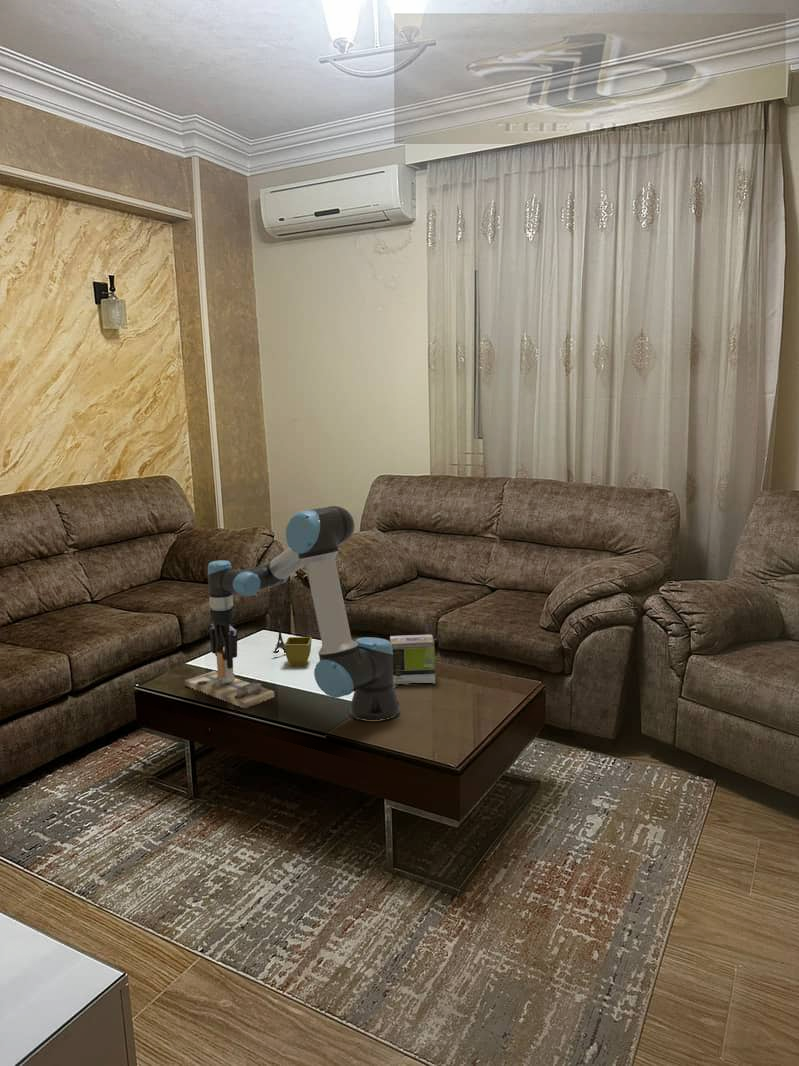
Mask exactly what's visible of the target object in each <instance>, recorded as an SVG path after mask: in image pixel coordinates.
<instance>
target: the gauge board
mask: <svg viewBox="0 0 799 1066" xmlns="http://www.w3.org/2000/svg"><path fill="white" fill-rule="evenodd" d="M217 675H218V671H216V670H213V671H210V672H206V673H203V674H199V675H197V676H194V677H191V678H188V679H185V680H184V685H185V687H187V686H188V688H189V687H190V689H192V688H193V689H192V690H195V691H197V690H198V692H200V691H201V692H200V693H202V692H203V694H205V693H206V695H208V694H209V695H208V696H210V695H211V697H213V698H216V699H218V698H219V700H221V699H222V700H221V701H223V700H224V702H226V701H227V703H229V702H230V703H229V704H231V703H232V704H231V705H234V706H237V707H239V706H240V707H239V708H242V709H244V708H245V709H247V708H251V707H253V706H256V705H258V704H261V703H264V702H266V701H269V700H271V698H272V699H274V698H275V691H274V690H271V689H268V688H265V687H262V683H259V682H256V681H253V682H251V683H250V682H248V681H245V680H242V679H239V678H237V677H235V681H232V682H229V683H227V684H224V685H222V684H216V686H215V687H212V686H211V680H212V679H215V680H217ZM273 697H274V698H273ZM268 699H269V700H268ZM263 701H264V702H263ZM250 706H251V707H250Z"/></svg>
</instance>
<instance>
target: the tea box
mask: <svg viewBox="0 0 799 1066" xmlns="http://www.w3.org/2000/svg"><path fill="white" fill-rule="evenodd" d="M389 641H390V642H391V644H392V648H393V686H396V685H395V684H404V685H409V684H408V683H433V684H436V652H435V651H436V650H435V649H436V648H435V640H434V637H433V634H429V633H428V634H407V635H405V634H404V635H390V636H389Z"/></svg>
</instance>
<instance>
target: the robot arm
mask: <svg viewBox="0 0 799 1066" xmlns="http://www.w3.org/2000/svg"><path fill="white" fill-rule="evenodd" d="M354 532H355V521H354V517H353V516H352V514H351V513H350V512H349V511H348V510H347V509H346V508H344V507H341V506H338V505H337V506H336V505H331V506H327V507H321V508H311V509H306V510H302V511H299V512H296V513H294V514H293V515H292V516H291V517H290V519H289V521H288V522H287V524H286V529H285V539H286V543H287V545H288V548H287V549H286V550H284V551H283V552H281V553H280V554H278V555H277V556H275V557H274V558H272V559H271V560H270V561H269V562H267V563H266V564H263V565H259V566H256V567H249V568H246V569H241V570H240V569H233V567H232V563H231V562H230V561H229V560H224V559H223V560H214V561H211V562H209V563H208V565H207V580H208V581H207V582H208V593H209V595H208V598H209V600H208V601H209V611H210V612H209V614H210V615H209V616H210V620H211V621H212V623H210V624H208V625H207V628H208V631H209V637H210V647H211V648H210V649H211V652H212V654H215V657H217V652H219V651H222V650H225V657H226V658H224V667H225V678H226V679H227V678H230V677H233V673H234V659H235V658H238V634H239V629H238V628H236V629H235V628H234V627H233V622H232V621H233V619H234V618H235V612H234V609H235V608H234V607H233V606H234V600H233V599H234V597H233V594H234V595H239V596H242V597H252V596H254V595H256V593H257V592H259V591H261V590H265V589H268V588H273V587H277V586H280V585H282V584H285V583H286V582H287V581H288V578H289V577H290V576H291V575H292V574H294V573H296V572H297V571H298V570H300V569H302V568H303V567H305V568H306V573H307V578H308V583H309V586H310V593H311V598H312V601H313V607H314V612H315V617H316V621H317V625H318V630H319V631H318V632H319V635H320V640H321V647H320V649H319V650H318V656H319V661H318V662H317V663H316V664H315V668H314V671H313V673H314V674H313V675H314V680H315V682H316V684H317V686H318V688H320V690H321V691H322V692H324V694H325V695H326V696H328V697H331V698H336V699H337V698H341V697H345V696H349V695H351V694H352V693H353V695H352V699H351V702H350V705H349V706H350V707H349V713H350V716H351V717H352V718H354V717H356V718H359V719H366V720H380V719H387V718H391V717H393V716H395V715H397V714H398V713H399V714H400V712H401V711H400V710H401V709H400V706H401V705H400V703H399V700H398V699H397V698H398V697H397V695H396V690H395V687H394V685H393V648H392V644H391V642H390V640H388V639H384V638H380V637H370V636H367V637H366V636H365V637H358V638H356V639H355V640H353V639H352V635H351V630H350V625H349V621H348V616H347V612H346V607H345V601H344V597H343V591H342V585H341V581H340V577H339V571H338V566H337V563H336V557H337V555H338V554H339V552H340V550H339V547H340V546H342V545H343V544H345V543H347V542H348V541H349V540H350V539H351V538H352V536H353V535H354ZM399 711H400V712H399ZM399 714H398V715H399ZM398 715H397V716H398Z"/></svg>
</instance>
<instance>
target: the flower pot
mask: <svg viewBox="0 0 799 1066" xmlns="http://www.w3.org/2000/svg"><path fill="white" fill-rule="evenodd" d="M312 639H313V638H312V636H292V637H291V636H290V637H287V639H286V641H285V642H284V644H285V651H286V655H285V656H286V659H287V662H288V663H289V665H290V666H291V667H306V666H307V663H308V660H309V658H310V654H311V649H312Z"/></svg>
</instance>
